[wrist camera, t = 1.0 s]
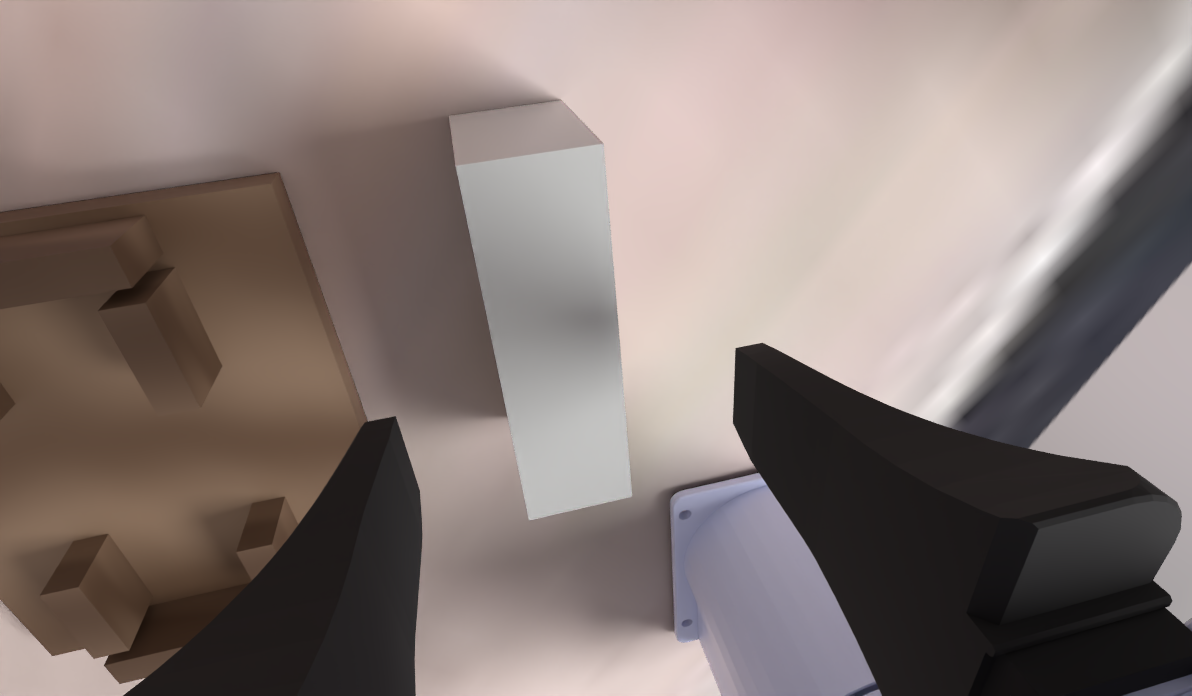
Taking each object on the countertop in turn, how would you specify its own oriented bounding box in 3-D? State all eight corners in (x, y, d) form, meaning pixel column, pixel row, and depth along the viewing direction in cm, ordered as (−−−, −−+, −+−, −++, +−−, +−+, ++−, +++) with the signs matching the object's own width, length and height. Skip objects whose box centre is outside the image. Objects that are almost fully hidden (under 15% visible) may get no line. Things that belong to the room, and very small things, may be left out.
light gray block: (594, 397, 22) (632, 496, 18) (509, 414, 22) (528, 520, 18) (560, 99, 17) (603, 143, 13) (448, 114, 17) (455, 165, 13)
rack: (413, 550, 24) (411, 619, 22) (66, 630, 22) (20, 714, 20) (279, 172, 16) (252, 210, 14) (-263, 250, 15) (-405, 309, 12)
